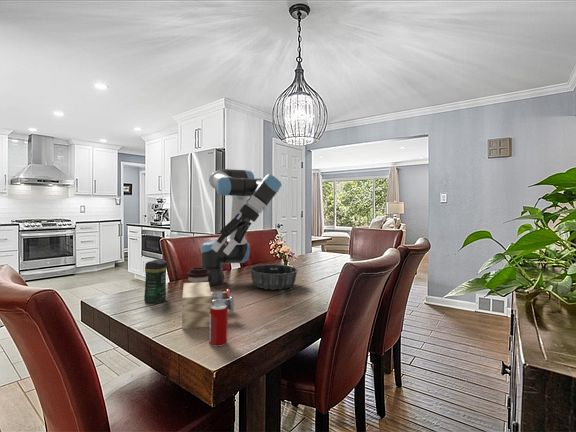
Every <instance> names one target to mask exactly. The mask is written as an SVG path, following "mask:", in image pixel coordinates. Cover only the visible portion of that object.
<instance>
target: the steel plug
mask: <svg viewBox="0 0 576 432" xmlns="http://www.w3.org/2000/svg"><path fill="white" fill-rule="evenodd" d="M234 302H235V301H234V296H231V295H230V296H229V299H215V300H212V305H215V304H224V305H226V306H227V311H228V312H230V313H231V312H234V309H235V307H234V306H235V303H234Z"/></svg>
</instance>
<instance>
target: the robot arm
mask: <svg viewBox="0 0 576 432" xmlns="http://www.w3.org/2000/svg"><path fill="white" fill-rule="evenodd" d="M208 182H209V184H210V186H211V187H212V188H213V189H214V190H216V194H218V195H219V196H231V197H232V198H231V199H232V201H231V212H230V213H231V214H230V215H231V217H230V220H229V222H228V223H227V224H226V225H225V226H224V227H223V228H221V230H219V233H220V235H219V236H218V238H217V239H216V240H211V241H206V242H204V243H202V244H201V248H200V249H201V251H200V253H201V255H200V256H201V257H200V260H201V261H200V263H201V264H200V267H202V268H206V269H207V271H209V272H210V275H209V276H208V282H209V286H218V285H222V284H223V285H224V283H226V276H225V274H224V270H223V264H243V263H246V262H247V261H248V260H249V256H250V253H251V252H250V248H251V247H250V243H249V242H248V240H247V239H246V234H247V231H248V230H249V227H250V226H252V222H254V223H255V222H256V220H258V218H259V217H260V214H262V213H263V211H266V210H267V206H268V205H269V203H271V201H272V199H273V198H274V197H275V196H276V194H277V193H278V192H279V190H280V189H281V188H282V182H281V181H280V180H279V179H278V178H277V177H276V176H274V175H273V174H270V173H267V174H266V175H265V176H264V177H263V178H255V175H254V173H253V171H251V170H247V169H246V170H245V169H232V168H231V169H229V168H221V169H218V170H215V171H213V172H212V173H211V174H210V175H209V178H208ZM251 221H252V222H251Z"/></svg>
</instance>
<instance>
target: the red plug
mask: <svg viewBox="0 0 576 432" xmlns="http://www.w3.org/2000/svg"><path fill="white" fill-rule="evenodd" d="M211 294H212V300H215V299H229V296H231V290H230V288H226V290H225V291H224V290H223V291H211Z"/></svg>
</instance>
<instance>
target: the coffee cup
mask: <svg viewBox="0 0 576 432" xmlns="http://www.w3.org/2000/svg"><path fill="white" fill-rule="evenodd" d="M209 275H210V272H209V271H207V269H206V268H202V267H201V266H199V267H191V268H190V270H189V271H187V272H186V276H187V279H188V280H187V283H197V282H208V276H209Z"/></svg>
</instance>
